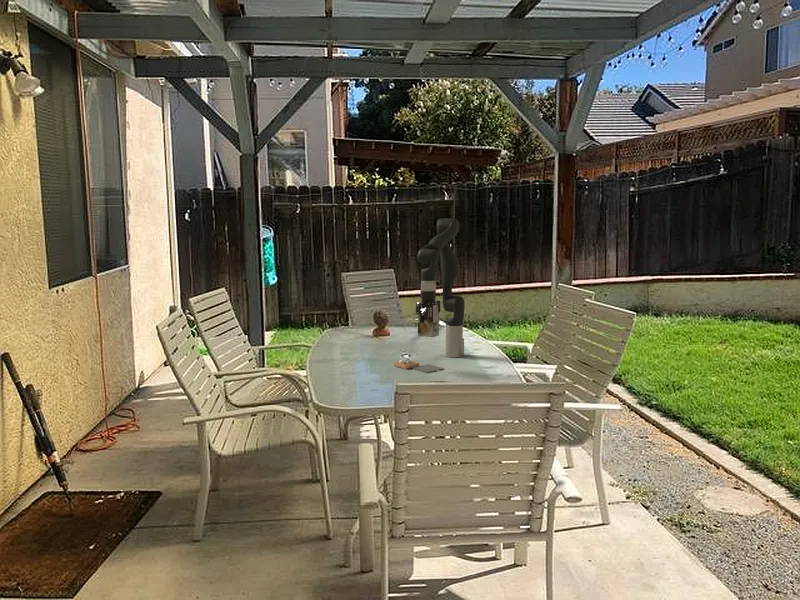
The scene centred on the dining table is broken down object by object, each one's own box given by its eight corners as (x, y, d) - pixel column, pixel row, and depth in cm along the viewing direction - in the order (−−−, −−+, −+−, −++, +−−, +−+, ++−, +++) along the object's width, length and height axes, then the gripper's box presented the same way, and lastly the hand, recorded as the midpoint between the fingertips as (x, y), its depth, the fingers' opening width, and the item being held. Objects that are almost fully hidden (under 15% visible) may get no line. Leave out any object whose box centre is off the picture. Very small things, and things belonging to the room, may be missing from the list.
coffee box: (439, 335, 344) (439, 303, 342) (433, 337, 339) (433, 305, 337) (423, 334, 349) (423, 302, 347) (417, 336, 343) (417, 304, 341)
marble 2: (407, 363, 356) (407, 357, 356) (411, 364, 354) (411, 358, 353) (403, 364, 354) (403, 358, 354) (406, 365, 352) (406, 359, 351)
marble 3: (409, 365, 352) (409, 359, 352) (412, 366, 350) (412, 360, 350) (404, 365, 350) (404, 360, 350) (408, 367, 348) (408, 361, 348)
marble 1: (402, 364, 354) (402, 358, 353) (406, 365, 351) (406, 359, 351) (397, 365, 352) (397, 359, 352) (401, 366, 350) (401, 360, 349)
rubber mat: (428, 365, 354) (428, 364, 354) (444, 369, 345) (444, 368, 345) (412, 368, 347) (412, 367, 347) (427, 372, 338) (427, 371, 338)
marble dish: (408, 363, 358) (408, 359, 358) (419, 366, 351) (419, 362, 350) (394, 366, 352) (394, 362, 352) (405, 369, 345) (405, 365, 345)
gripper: (434, 287, 348) (434, 319, 350) (412, 290, 339) (412, 322, 341) (444, 289, 342) (443, 321, 344) (422, 291, 333) (422, 324, 336)
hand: (428, 321), depth 343 cm, fingers closed on coffee box, 8 cm apart
